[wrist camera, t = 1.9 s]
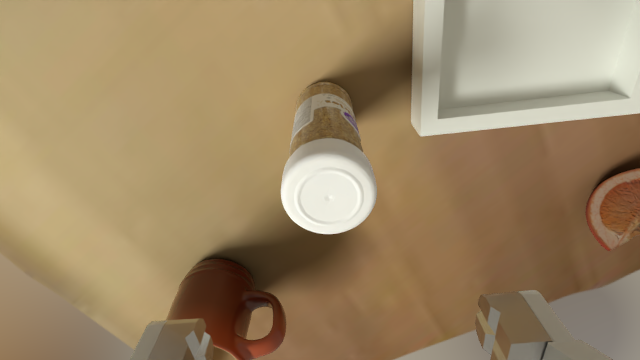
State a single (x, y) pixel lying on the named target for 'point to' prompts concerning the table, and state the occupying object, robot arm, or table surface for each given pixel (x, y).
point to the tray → (522, 62)
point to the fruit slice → (615, 209)
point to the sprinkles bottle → (327, 164)
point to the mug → (228, 309)
